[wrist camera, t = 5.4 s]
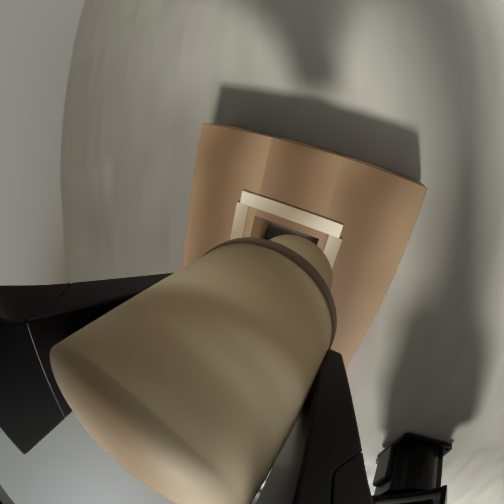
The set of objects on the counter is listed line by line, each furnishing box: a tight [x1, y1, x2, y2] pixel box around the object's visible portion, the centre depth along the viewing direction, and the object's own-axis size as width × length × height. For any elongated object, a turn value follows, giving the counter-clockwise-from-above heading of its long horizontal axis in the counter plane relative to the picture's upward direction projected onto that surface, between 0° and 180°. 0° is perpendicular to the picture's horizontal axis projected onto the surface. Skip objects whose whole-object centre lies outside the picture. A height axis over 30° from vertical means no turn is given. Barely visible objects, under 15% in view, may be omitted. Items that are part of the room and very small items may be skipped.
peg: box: [50, 235, 337, 504], centre depth 8 cm, size 5×5×8 cm
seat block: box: [182, 123, 427, 369], centre depth 20 cm, size 14×14×3 cm
